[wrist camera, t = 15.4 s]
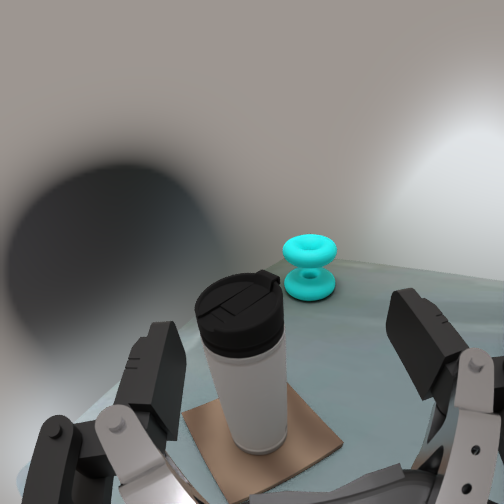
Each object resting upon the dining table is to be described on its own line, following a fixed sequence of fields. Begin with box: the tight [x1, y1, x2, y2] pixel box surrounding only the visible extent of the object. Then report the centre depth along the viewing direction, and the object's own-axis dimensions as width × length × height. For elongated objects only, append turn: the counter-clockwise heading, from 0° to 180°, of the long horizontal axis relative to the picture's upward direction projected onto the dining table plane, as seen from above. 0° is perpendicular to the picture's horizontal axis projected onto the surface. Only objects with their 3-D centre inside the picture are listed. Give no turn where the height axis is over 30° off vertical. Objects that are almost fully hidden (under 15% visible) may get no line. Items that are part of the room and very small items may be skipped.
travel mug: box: [195, 270, 287, 455], centre depth 24 cm, size 6×7×20 cm
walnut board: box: [182, 383, 344, 504], centre depth 29 cm, size 14×14×1 cm
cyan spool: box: [283, 234, 337, 301], centre depth 54 cm, size 10×10×10 cm
